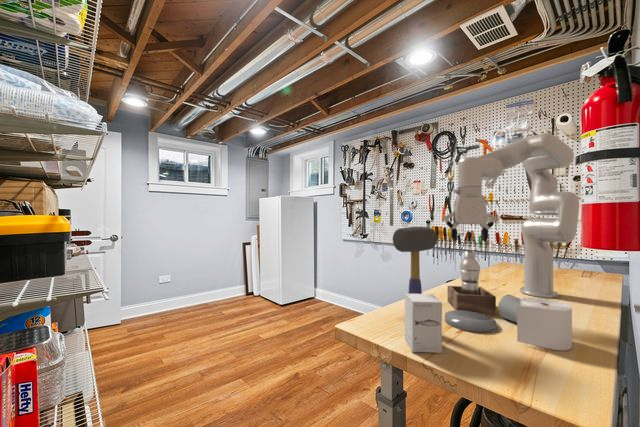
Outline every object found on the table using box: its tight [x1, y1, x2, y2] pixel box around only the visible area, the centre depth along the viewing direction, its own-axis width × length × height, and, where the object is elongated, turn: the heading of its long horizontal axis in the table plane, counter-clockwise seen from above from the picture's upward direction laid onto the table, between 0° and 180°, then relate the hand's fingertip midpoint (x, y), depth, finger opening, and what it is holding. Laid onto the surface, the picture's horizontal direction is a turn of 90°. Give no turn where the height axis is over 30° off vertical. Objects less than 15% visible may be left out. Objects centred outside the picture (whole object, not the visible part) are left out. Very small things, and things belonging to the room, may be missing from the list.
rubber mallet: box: [392, 226, 438, 294], centre depth 83 cm, size 12×8×30 cm, turn 119°
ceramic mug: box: [497, 294, 522, 324], centre depth 86 cm, size 11×8×8 cm
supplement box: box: [404, 293, 443, 354], centre depth 71 cm, size 7×7×13 cm
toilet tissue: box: [516, 296, 573, 351], centre depth 73 cm, size 11×12×10 cm
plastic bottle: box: [459, 250, 481, 295], centre depth 99 cm, size 6×7×20 cm
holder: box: [447, 285, 497, 315], centre depth 99 cm, size 12×12×6 cm
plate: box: [444, 309, 498, 334], centre depth 85 cm, size 14×14×2 cm
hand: (469, 240), depth 99 cm, fingers open, 9 cm apart
